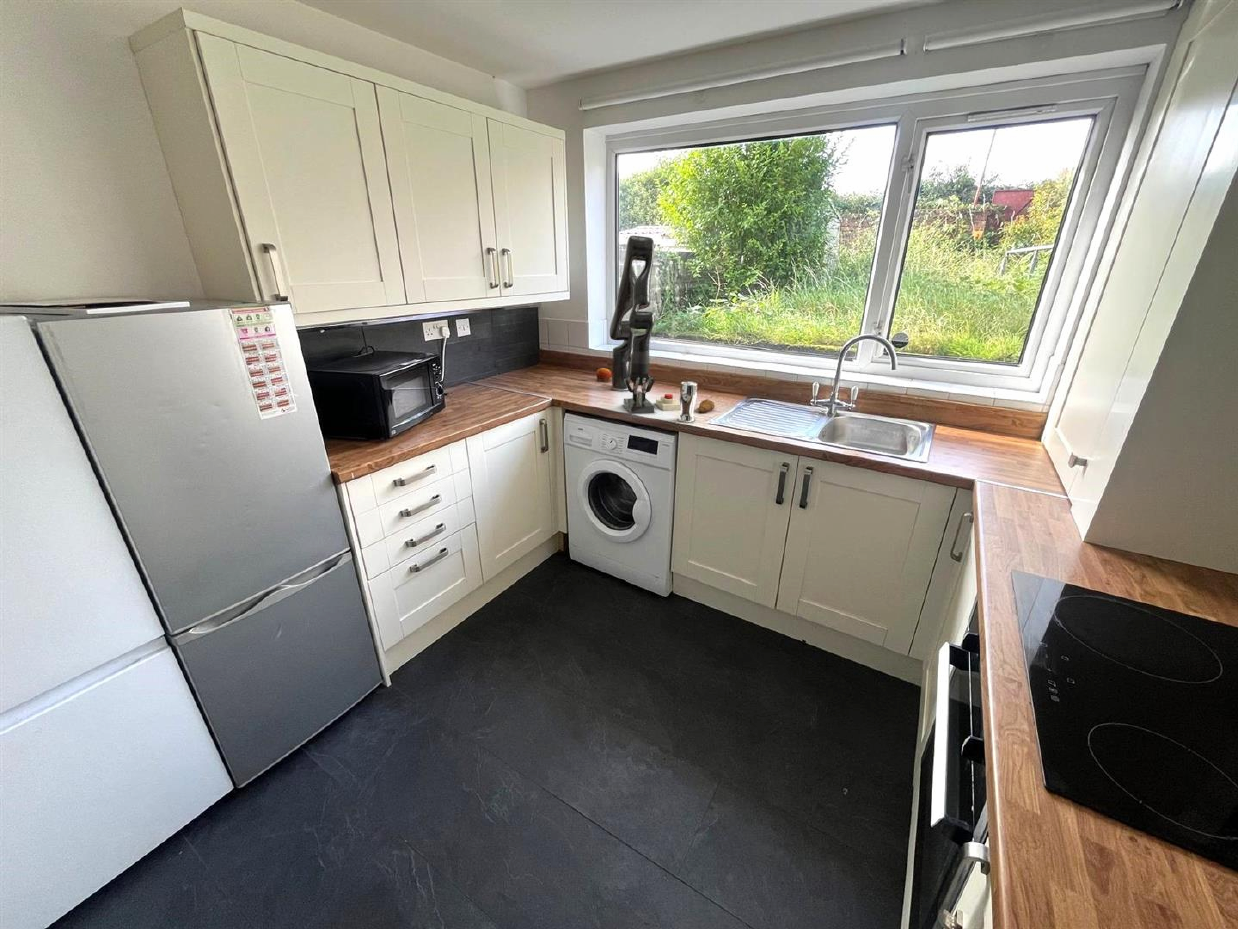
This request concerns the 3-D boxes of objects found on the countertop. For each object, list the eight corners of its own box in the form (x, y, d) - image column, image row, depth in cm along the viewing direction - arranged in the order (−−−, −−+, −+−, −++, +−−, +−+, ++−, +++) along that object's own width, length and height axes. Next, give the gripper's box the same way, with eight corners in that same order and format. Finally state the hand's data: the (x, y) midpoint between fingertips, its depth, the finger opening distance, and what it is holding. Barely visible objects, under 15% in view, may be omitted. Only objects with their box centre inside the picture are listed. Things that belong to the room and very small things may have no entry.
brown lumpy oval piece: (709, 415, 209) (710, 403, 207) (693, 412, 212) (694, 401, 210) (719, 407, 220) (720, 396, 218) (704, 405, 223) (705, 394, 221)
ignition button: (663, 397, 220) (663, 393, 219) (671, 397, 220) (671, 393, 220) (665, 399, 216) (666, 395, 216) (673, 399, 217) (673, 395, 217)
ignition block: (655, 403, 224) (656, 395, 222) (672, 403, 226) (673, 394, 224) (663, 410, 214) (663, 401, 212) (680, 409, 216) (681, 400, 214)
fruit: (594, 379, 261) (595, 365, 263) (596, 384, 269) (598, 370, 270) (609, 380, 260) (610, 366, 261) (611, 385, 268) (612, 371, 269)
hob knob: (635, 400, 216) (636, 389, 214) (638, 400, 216) (639, 389, 214) (638, 403, 212) (638, 392, 210) (641, 403, 212) (642, 392, 210)
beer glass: (674, 419, 201) (676, 383, 195) (684, 416, 206) (687, 380, 200) (688, 423, 196) (691, 385, 191) (698, 420, 201) (701, 383, 196)
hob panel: (623, 405, 220) (623, 398, 219) (645, 404, 222) (645, 397, 221) (631, 413, 208) (631, 406, 206) (654, 412, 210) (654, 405, 209)
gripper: (653, 359, 212) (651, 399, 219) (622, 360, 209) (621, 400, 216) (659, 362, 206) (656, 403, 212) (626, 363, 203) (625, 404, 209)
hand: (638, 401), depth 214 cm, fingers closed
